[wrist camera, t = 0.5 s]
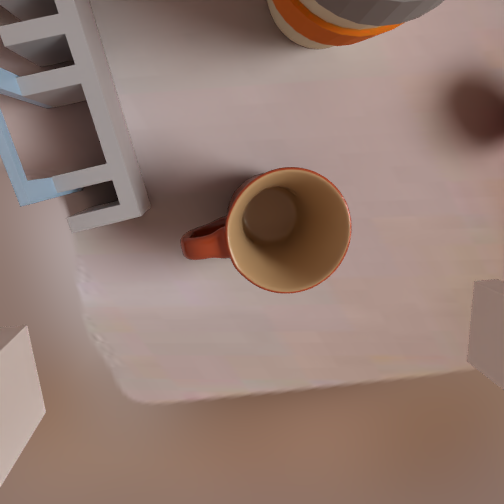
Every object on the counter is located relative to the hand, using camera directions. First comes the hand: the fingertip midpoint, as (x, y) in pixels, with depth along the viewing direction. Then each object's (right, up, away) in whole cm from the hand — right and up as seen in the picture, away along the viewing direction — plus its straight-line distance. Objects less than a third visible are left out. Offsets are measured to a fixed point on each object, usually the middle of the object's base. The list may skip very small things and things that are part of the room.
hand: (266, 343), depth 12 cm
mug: (-1, +6, +25) cm, 26 cm away
